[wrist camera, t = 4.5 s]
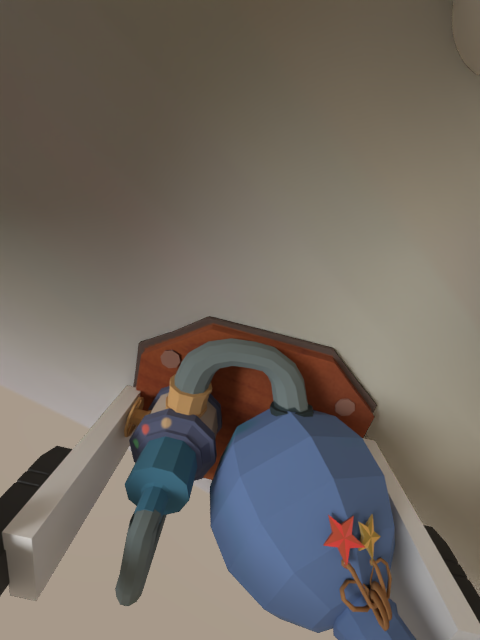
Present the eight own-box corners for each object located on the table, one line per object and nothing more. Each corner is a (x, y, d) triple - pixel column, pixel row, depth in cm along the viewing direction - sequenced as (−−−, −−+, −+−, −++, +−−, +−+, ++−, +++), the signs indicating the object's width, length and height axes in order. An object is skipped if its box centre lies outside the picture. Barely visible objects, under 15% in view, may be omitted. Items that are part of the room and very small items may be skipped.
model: (396, 364, 12) (766, 711, 3) (324, 499, 15) (420, 869, 6) (147, 296, 12) (-172, 485, 3) (124, 448, 15) (-70, 766, 6)
